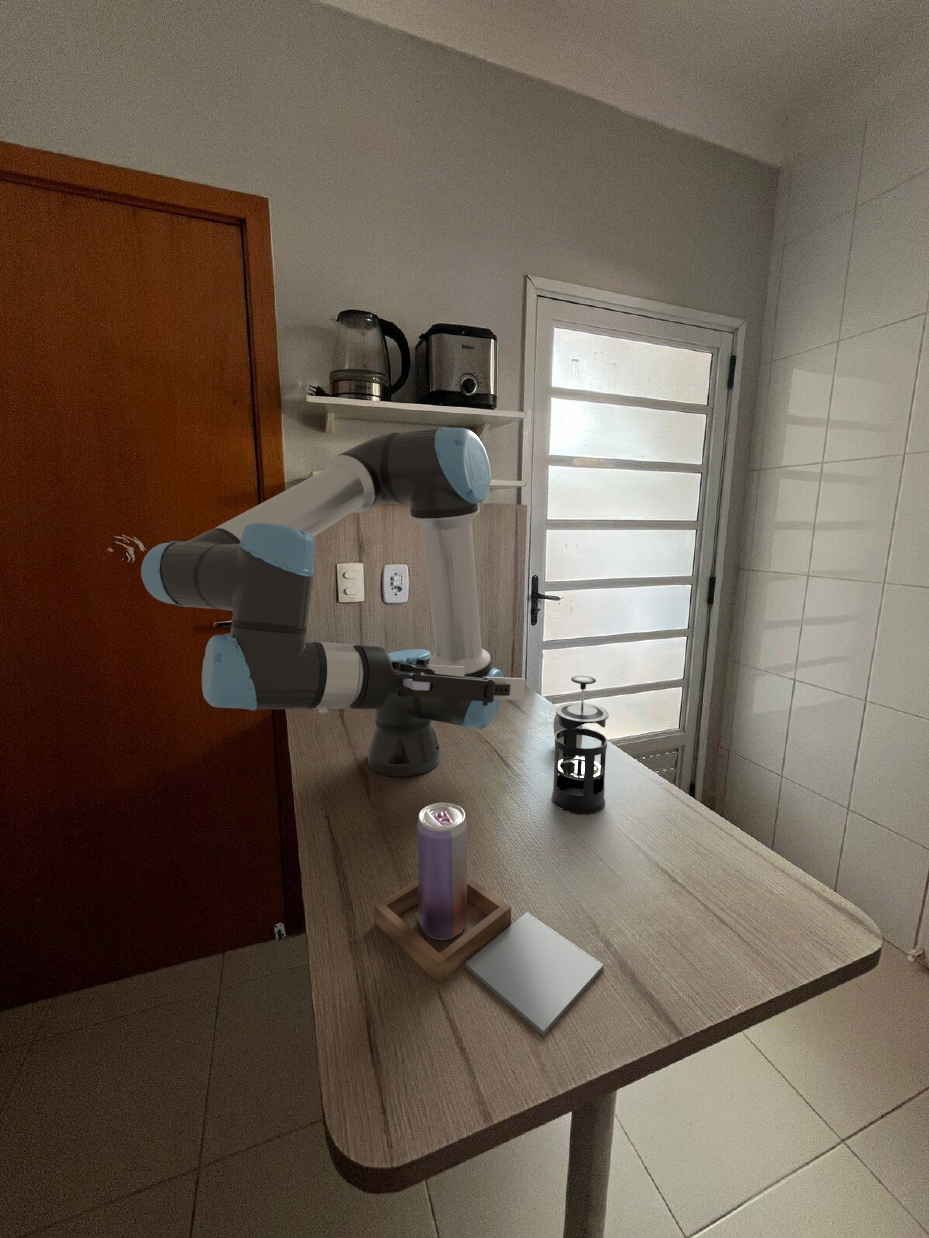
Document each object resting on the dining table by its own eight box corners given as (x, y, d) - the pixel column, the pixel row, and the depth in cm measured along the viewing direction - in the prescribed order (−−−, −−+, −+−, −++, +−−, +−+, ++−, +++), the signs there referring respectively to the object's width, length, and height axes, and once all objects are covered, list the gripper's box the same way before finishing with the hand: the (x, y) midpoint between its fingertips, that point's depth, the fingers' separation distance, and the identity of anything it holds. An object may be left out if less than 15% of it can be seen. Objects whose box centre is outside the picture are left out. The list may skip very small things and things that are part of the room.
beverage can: (428, 949, 61) (426, 834, 58) (412, 914, 66) (410, 807, 63) (474, 933, 63) (475, 822, 60) (455, 900, 68) (455, 797, 65)
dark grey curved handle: (550, 744, 116) (551, 702, 114) (564, 743, 116) (566, 701, 115) (569, 764, 106) (570, 719, 104) (584, 763, 107) (586, 717, 105)
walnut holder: (375, 922, 65) (374, 905, 64) (446, 877, 73) (446, 861, 72) (438, 983, 56) (438, 964, 56) (511, 924, 64) (511, 906, 64)
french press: (615, 814, 88) (623, 686, 84) (562, 819, 87) (567, 688, 82) (589, 780, 100) (595, 666, 95) (542, 784, 98) (546, 668, 94)
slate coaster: (465, 967, 58) (465, 962, 58) (526, 915, 66) (526, 911, 66) (543, 1036, 50) (543, 1031, 50) (603, 969, 58) (603, 964, 58)
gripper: (310, 692, 71) (440, 694, 83) (397, 731, 50) (551, 726, 63) (316, 637, 71) (444, 647, 83) (405, 655, 50) (557, 665, 63)
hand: (490, 681), depth 73 cm, fingers open, 13 cm apart
